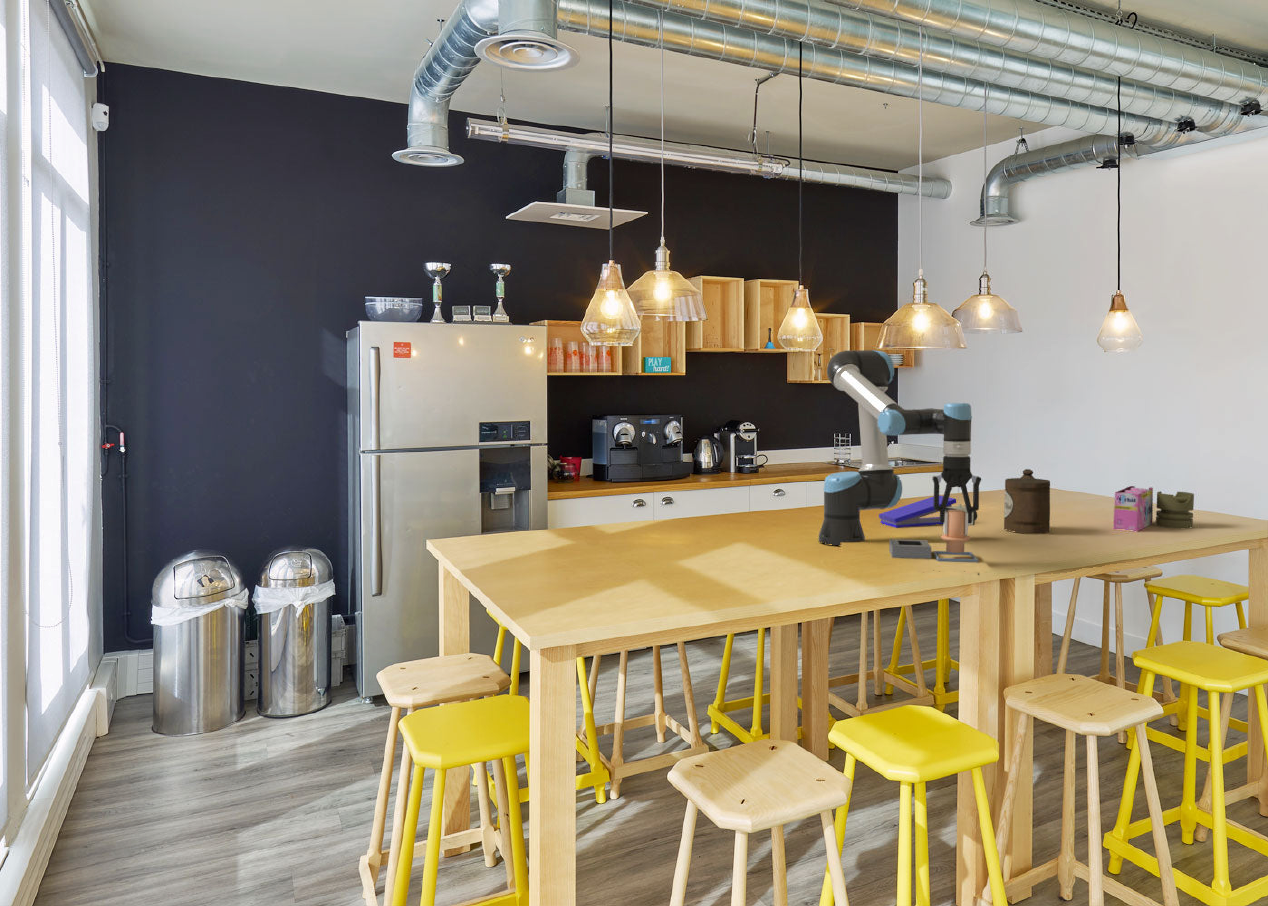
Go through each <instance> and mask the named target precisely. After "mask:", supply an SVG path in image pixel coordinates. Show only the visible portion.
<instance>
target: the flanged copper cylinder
mask: <svg viewBox="0 0 1268 906" xmlns="http://www.w3.org/2000/svg"><path fill="white" fill-rule="evenodd" d="M947 512H948V526H947V534H942V535H941V536H940V540H942V541H945V546H946V547H945V551H947V552H952V553H963V552H965V542H969V541H971V536H969V535H967V536H966V535H965V511H963V510H947Z"/></svg>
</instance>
